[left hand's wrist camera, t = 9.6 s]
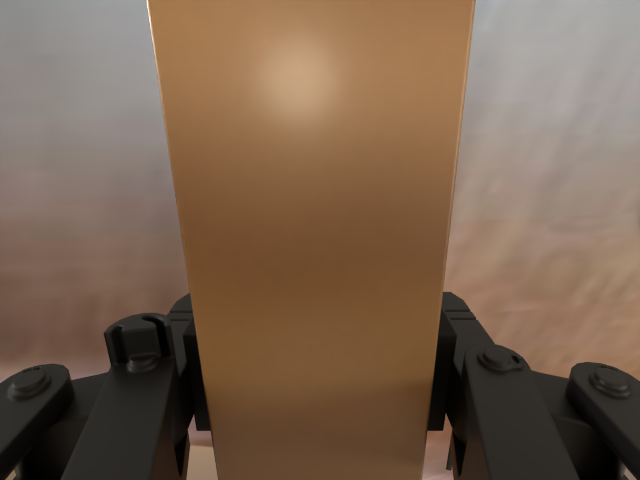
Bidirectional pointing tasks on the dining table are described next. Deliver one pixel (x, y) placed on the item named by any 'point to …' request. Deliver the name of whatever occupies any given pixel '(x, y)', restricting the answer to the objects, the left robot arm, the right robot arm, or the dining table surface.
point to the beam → (315, 221)
